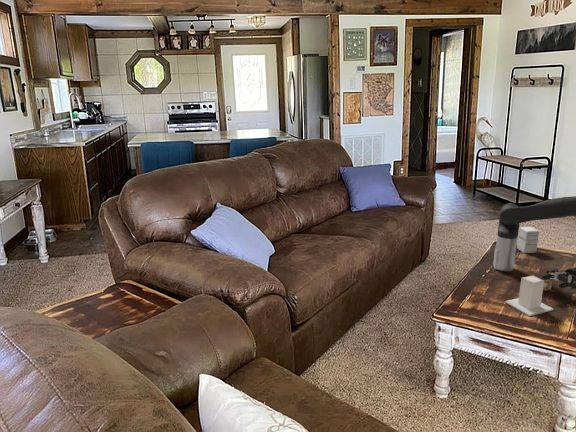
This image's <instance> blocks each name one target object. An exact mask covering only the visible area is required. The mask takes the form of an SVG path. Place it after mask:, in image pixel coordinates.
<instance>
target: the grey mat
mask: <svg viewBox="0 0 576 432" xmlns="http://www.w3.org/2000/svg"><path fill="white" fill-rule="evenodd" d="M518 300H519V297H517V298H516V297H515V298H513V299H508V300H505V301H504V303H506V304H507V305H510V306H511V307H513V308H515V309H516V310H517V311H519V312H521V313H523V314H524V315H526V316H528V317H531V316H536V315H539V314H543V313H548V312H553V311H554V308H553V307H551V306H549V305H547V304H545V303H543V302H541V306H540V307H537V308H533V309H528V308H526V307H524V306H522V305H521V304H519V303H518Z"/></svg>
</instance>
